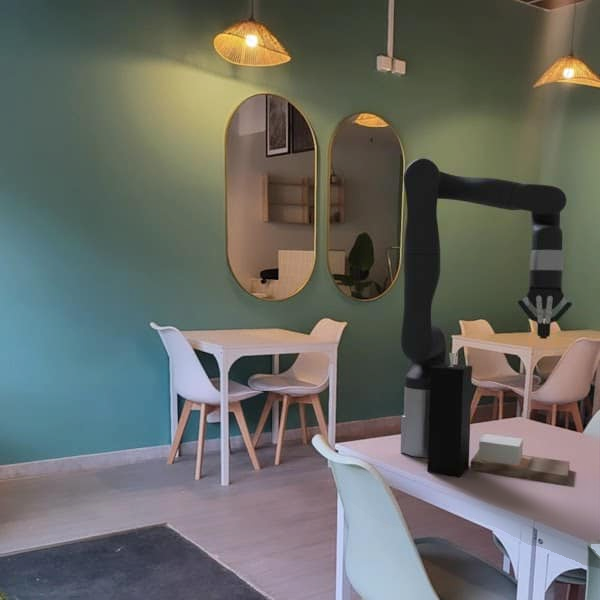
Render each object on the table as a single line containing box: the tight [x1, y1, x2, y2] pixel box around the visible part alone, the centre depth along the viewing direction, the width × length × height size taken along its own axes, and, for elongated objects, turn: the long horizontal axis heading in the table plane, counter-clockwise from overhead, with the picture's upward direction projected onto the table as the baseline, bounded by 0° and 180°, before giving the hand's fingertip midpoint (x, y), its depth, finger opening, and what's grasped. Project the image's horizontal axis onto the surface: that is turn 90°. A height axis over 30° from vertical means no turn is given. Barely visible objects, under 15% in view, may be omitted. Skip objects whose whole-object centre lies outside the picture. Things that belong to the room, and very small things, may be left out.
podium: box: [470, 450, 570, 486], centre depth 142 cm, size 21×12×2 cm, turn 63°
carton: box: [478, 433, 524, 466], centre depth 144 cm, size 9×8×4 cm
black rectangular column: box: [426, 352, 473, 478], centre depth 140 cm, size 8×8×28 cm
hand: (543, 338), depth 148 cm, fingers closed
